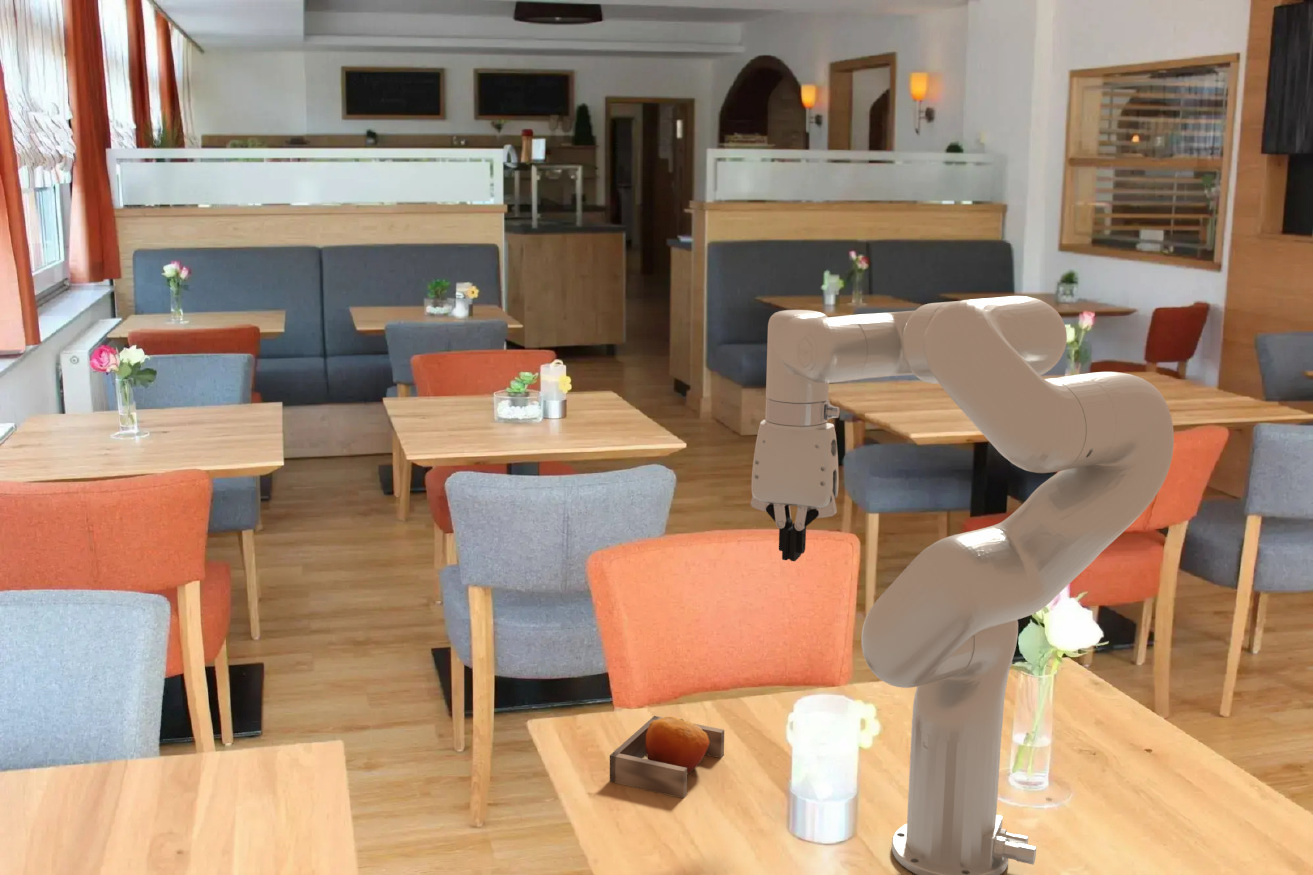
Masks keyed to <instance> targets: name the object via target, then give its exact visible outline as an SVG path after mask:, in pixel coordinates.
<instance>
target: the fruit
mask: <svg viewBox="0 0 1313 875" xmlns="http://www.w3.org/2000/svg"><path fill="white" fill-rule="evenodd" d="M692 723H693V722H689V721H687V720H684V718H677V717H674V716H665V717H663V718H662V719H658V720H654V721H652V722H651V723H650V725H649V727H648V730H647V733H646V744H645V746H646V753H647V754H646V759H648V760H652V761H657V762H662V763H666V764H671V765H676V766H680V767H685V768H687V774H690V773H692V772H693V771H694V770H695V769H696V768H697V767H698V765H699V764H700V763H701V761H702V759H703V758H704V756H706V755H705V753H706V751H707V749H708V746H709V743H710V742H709V739H708V735H707V733H706V732H704V731H703V730H702V729H701V728H700V727H699V726H697V725H695V724H696V723H693V724H692Z"/></svg>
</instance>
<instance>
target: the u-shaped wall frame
mask: <svg viewBox="0 0 1313 875" xmlns="http://www.w3.org/2000/svg"><path fill="white" fill-rule="evenodd" d="M662 718H664V717H661V716H657V715H654V716H652V717H651V718H650V719H649V720H648V721H647V722H645V724H644V725H642V726H641V727H640V728H639V729H637V730H636V731H635V732H634V733H633V734H632V735H631V736H630V737H628V738H627V739H626V740H625V741H624V742H622V744H621V745H619V746H618V747H617V748H616V749H615V750H614V751H613V752H612V753H611V754H610V755H609V782H610V783H615V784H619V785H623V786H627V787H628V786H629V787H633V788H635V789H636V788H637V789H641V790H645V791H646V790H647V791H650V792H655V793H658V794H663V795H669V796H673V797H678V798H681V799H685V797H686V796H687V795H688V773H687V768H685V767H680V766H676V765H671V764H666V763H662V762H657V761H652V760H648V758H644V757H645V756H647V753H646V746H645V744H646V733H647V730H648V727H649V725H650V723H651V722H652V721H654V720H658V719H662ZM691 723H692V724H695V725H697V726H699V727H700V728H701V729H702V730H703V731H704V732H706V733H707V735H708V739H709V742H710V743H709V746H708V749H707V751H706V753H705V755H704V756H709V755H710V756H709V757H714V758H715V757H716V758H719V759H721V758H722V757H723V756H724V755H725V729H723V728H717V727H712V726H709V725H708V726H706V725H702V724H698V723H693V722H691Z"/></svg>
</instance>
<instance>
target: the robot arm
mask: <svg viewBox="0 0 1313 875" xmlns="http://www.w3.org/2000/svg"><path fill="white" fill-rule="evenodd" d="M1067 336H1068V332H1067V328H1066V325H1065V323H1064V320H1063V318H1062V316H1061V315H1060V314H1059V312H1058V310H1056V309H1055V308H1054V307H1053V306H1051V305H1050V304H1049V303H1047V302H1045V301H1043V300H1041V299H1039V298H1036V297H1030V296H1027V295H1025V296H1024V295H1010V296H999V297H986V298H984V297H983V298H973V299H963V300H957V301H944V302H943V301H942V302H931V303H927V304H923V305H921V306H919V307H917V308H916V309H915V310H905V311H894V312H891V311H890V312H878V313H877V312H876V313H874V312H873V313H860V314H847V315H846V314H845V315H840V316H838V315H837V316H828V315H827V314H825V313H823V312H820V311H815V310H810V309H786V310H779V311H777V312H774V313H773V314H772V315H771V316H770V317H769V319H768V323H767V345H766V346H767V351H766V354H767V355H766V383H765V384H766V385H765V386H766V387H765V416H764V417H765V419H762V420H761V421H760V423H759V427H758V431H757V436H756V442H755V447H754V453H753V462H752V469H751V470H752V471H751V486H750V487H751V488H750V489H751V495H752V496H751V501H750V506H751V507H752V508H754V509H755V510H759V511H761V512H766V513H767V515H768V516H770V517H771V519H772V520H773V521H774V522H775V526H776V527H777V528H778V529H779V530H778V550H779V552H782V554H781V559H782V561H788V560H789V561H791V562H796V561H797V560H798V559H799V558H800V557H801V556H802V554H804V553H805V551H806V544H807V543H806V542H807V541H806V540H807V534H806V533H807V526H808V525H809V524H811V523H812V522H813V521H814V520H816V519H822V518H823V519H824V518H829V517H830V518H831V517H834V516H835V514H837V512H838V509H837V503H836V500H835V499H836V498H837V497H838V495H839V487H840V486H839V480H840V479H839V478H840V477H839V455H838V444H837V443H838V442H837V434H836V430H835V425H834V424H833V423H832V422H831V423H830V422H828V421H830V419H834V418H835V419H838V418H839V417H840V413H841V412H840V411H841V410H840V407H839V406H834V404H833V405H832V404H831V400H830V398H829V389H830V388H829V387H830V384H831V383H833V384H834V383H840V382H841V383H842V382H850V381H854V380H855V381H857V380H865V379H876V378H884V377H895V376H899V377H900V376H915V377H916V378H917V379H919V380H920V381H922V382H925V383H926V384H927V383H928V384H933V385H934V384H935V385H936V384H939V385H940V387H941V388H942V389H943V390H944V391H945V393H946V394H947V395H948V396H949V398H950V399H951V401H953V402H954V403H955V404H956V406H958V408H959V409H960V410H961V411H962V413H964V415H965V416H966V417H967V418H968V419H969V421H971V422H972V423H973V424H974V426H975V427H976V428H977V429H978V431H979V432H981V434H982V435H983V436H984V437H985V438H986V439H987V441H988V442H989V443H990V445H992V446H993V448H994V449H996V450H997V452H998V453H999V454H1000V456H1003V458H1004V459H1006V460H1008V461H1009V462H1010V463H1011V464H1012V465H1014V466H1016V467H1017V468H1020V469H1022V470H1024V471H1027V472H1030V473H1036V474H1047V473H1056V474H1053V475H1052V476H1050V478H1048V479H1047V480H1046V481H1044V482H1043V483H1041V484H1040V485H1039V486H1038V487H1037V488H1036V489H1035V490H1034V491H1033V492H1032V493H1031V494H1030V495H1029V496H1028V498H1026V500H1025V501H1024V502H1023V503H1022V504H1021V505H1020V506H1019V507H1018V508H1017V509H1016V510H1015V511H1014V512H1012V514H1010V515H1009V516H1008V517H1006V518H1005V519H1004V520H1003V521H1001V522H999V523H996V524H994V525H991V526H987V527H982V528H979V529H976V530H971V531H966V532H962V533H958V534H952V535H950V536H946V537H944V538H941V539H939V540H937V541H936V542H934V543H932V544H931V545H929V546H927V547H926V548H924V549H923V550H922V551H921V552H920V553H918V554H917V555H916V557H915V558H914V559H912V560H911V562H909V564H908V565H907V566H906V568H904V570H902V572H901V573H900V574H899V575H898V576H897V577H896V578H895V580H893V582H892V583H891V584H890V585H889V586H888V587H887V588H886V590H885V591H884V592H883V593H882V594H880V596H879V597H878V599H877V600H876V601H874V603H873V605H872V606H871V608H870V609H869V611H868V613H867V615H866V617H865V618H864V622H863V625H862V629H861V638H860V640H861V650H862V655H863V657H864V660H865V661H864V662H865V663H866V665H867V667H868V668H869V669H870V671H871V672H872V674H874V676H876V677H877V678H878V679H879V680H880V681H882V682H884V683H886V684H888V685H890V686H893V687H896V688H901V689H903V688H904V689H909V688H915V687H916V689H915V691H914V692H915V693H914V698H913V704H912V705H913V706H912V718H911V732H910V734H911V735H910V753H909V754H910V755H909V774H908V777H909V778H908V795H907V818H906V819H907V820H906V823H905V824H903V825H902V826H900V827H899V828H898V829H897V830H896V831H895V832H894V834H893V836H892V839H891V852H892V854H893V856H894V858H895V860H896V861H897V862H898V863H899V864H900V865H901V866H903V867H904V868H905V869H906V870H908V871H909V872H911V873H913V874H915V875H1002V874H1003V873H1004V872H1005V870H1006V869H1007V867H1008V864H1009V860H1014V861H1016V862H1018V863H1024V864H1029V865H1034V864H1035V861H1036V856H1037V846H1034V845H1031V844H1029V835H1025V834H1021V833H1013V832H1007V831H1008V830H1007V829H1006V828H1003V816H1002V815H998V814H997V813H998V812H997V809H998V793H999V778H1000V764H1001V761H1000V760H1001V748H1002V747H1001V746H1002V732H1003V722H1004V711H1005V707H1004V706H1005V698H1006V690H1007V689H1006V688H1007V683H1008V678H1009V675H1010V670H1011V666H1012V663H1013V660H1014V659H1013V658H1014V655H1015V652H1016V649H1017V648H1016V647H1017V642H1018V636H1019V621H1018V620H1021V619H1023V618H1027V617H1029V616H1031V615H1034V614H1037V613H1038V612H1040V611H1042V610H1043V609H1044V608H1045V607H1046V606H1049V604H1050V603H1051V602H1053V601H1054V599H1055V598H1056V597H1057V596H1058V595H1059V594H1060V593H1061V592H1062V591H1063V590H1065V588H1066V587H1067V586H1069V585H1070V584H1071V583H1072V582H1073V581H1074V580H1075V579H1076V578H1077V577H1078V576H1079V575H1080V574H1081V573H1082V572H1083V571H1084V570H1086V569H1087V567H1089V565H1091V564H1092V563H1093V562H1094V561H1095V560H1096V559H1097V558H1098V557H1099V555H1100V554H1101V553H1102V552H1104V550H1105V549H1107V548H1108V547H1109V546H1110V545H1111V544H1112V543H1113V542H1114V541H1115V540H1116V539H1118V537H1120V536H1121V535H1122V534H1123V533H1124V532H1125V531H1126V530H1127V529H1128V528H1130V526H1131V525H1133V523H1134V522H1135V521H1136V520H1137V519H1139V517H1140V516H1141V515H1143V513H1144V512H1145V511H1146V510H1147V509H1148V507H1149V506H1150V505H1151V503H1152V502H1153V500H1155V498H1156V496H1157V495H1158V493H1159V492H1160V490H1161V488H1162V486H1163V485H1164V483H1165V481H1166V478H1167V476H1168V473H1169V470H1170V468H1171V463H1172V460H1173V454H1174V442H1175V440H1174V438H1175V434H1174V425H1173V417H1172V414H1171V411H1170V409H1169V405H1168V402H1167V400H1166V399H1165V398H1164V395H1163V394H1162V392H1160V390H1158V388H1157V387H1156V386H1155V385H1153V383H1151V382H1150V381H1148V380H1146V379H1144V378H1143V377H1141V376H1140V377H1139V376H1137V375H1134V374H1130V373H1126V372H1118V371H1099V372H1098V371H1097V372H1089V373H1081V374H1074V375H1066V376H1065V375H1064V376H1058V377H1050V378H1044V377H1042V375H1045V374H1046V373H1047V372H1049V371H1051V370H1052V369H1053V367H1055V366H1056V365H1057V364H1058V362H1059V361H1060V360H1061V359H1062V357H1063V354H1064V353H1065V351H1066V346H1067V340H1068V337H1067ZM791 506H793V507H797V509H796V515H795V519H794V522H793V519H792V513H791V512H792V510H791Z"/></svg>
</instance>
